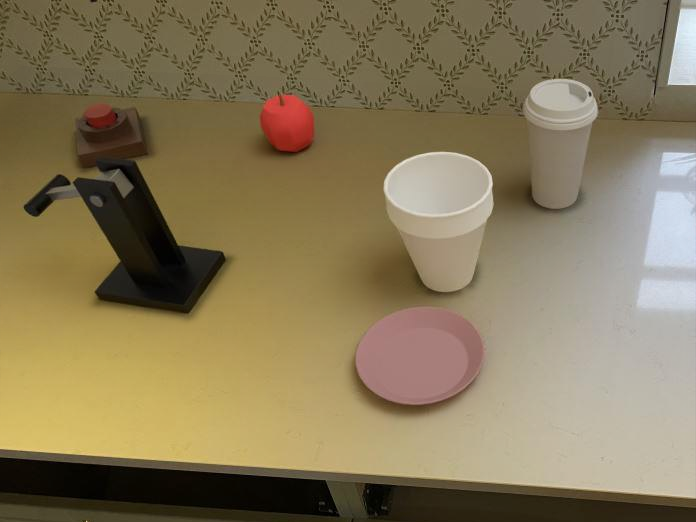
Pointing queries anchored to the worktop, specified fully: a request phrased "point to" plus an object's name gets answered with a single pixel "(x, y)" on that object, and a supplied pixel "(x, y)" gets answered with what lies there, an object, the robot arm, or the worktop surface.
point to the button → (100, 115)
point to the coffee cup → (558, 139)
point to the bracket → (144, 245)
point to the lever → (71, 190)
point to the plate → (420, 355)
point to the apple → (287, 123)
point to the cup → (440, 214)
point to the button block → (111, 138)
